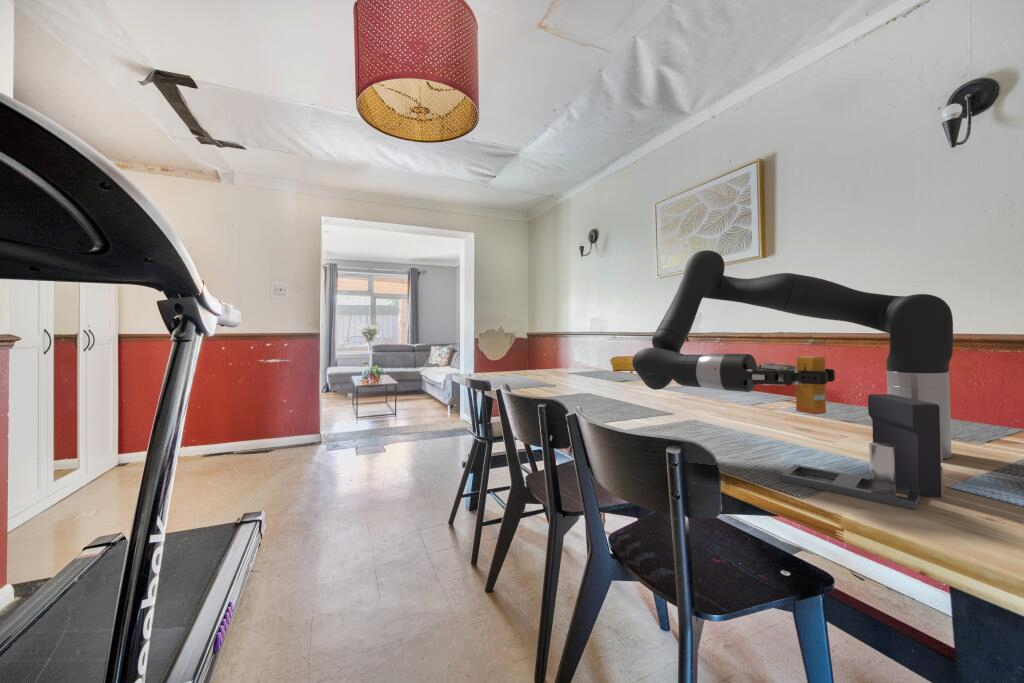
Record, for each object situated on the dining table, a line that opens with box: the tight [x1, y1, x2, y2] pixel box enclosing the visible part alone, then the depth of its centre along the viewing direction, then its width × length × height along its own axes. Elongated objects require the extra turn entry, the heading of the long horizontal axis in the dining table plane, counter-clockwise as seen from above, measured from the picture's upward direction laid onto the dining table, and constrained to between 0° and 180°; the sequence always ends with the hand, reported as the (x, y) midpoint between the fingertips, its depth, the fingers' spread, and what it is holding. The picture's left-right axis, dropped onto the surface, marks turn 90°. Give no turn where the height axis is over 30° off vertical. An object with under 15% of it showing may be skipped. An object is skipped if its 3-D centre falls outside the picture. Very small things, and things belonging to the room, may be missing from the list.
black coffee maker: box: [867, 393, 944, 498], centre depth 68 cm, size 11×4×15 cm, turn 168°
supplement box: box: [795, 355, 827, 415], centre depth 71 cm, size 3×3×10 cm
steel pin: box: [868, 442, 897, 496], centre depth 64 cm, size 3×3×8 cm
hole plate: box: [780, 463, 922, 511], centre depth 67 cm, size 8×17×1 cm, turn 40°
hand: (830, 376), depth 69 cm, fingers closed on supplement box, 4 cm apart
